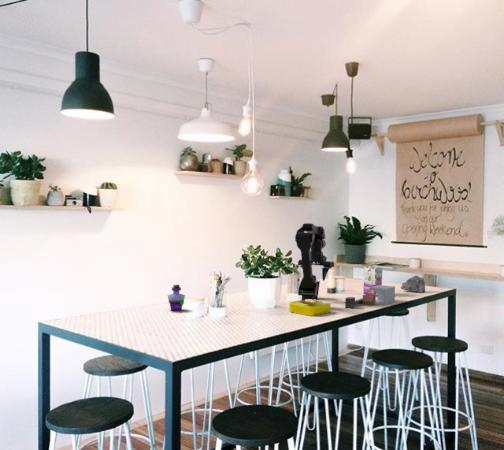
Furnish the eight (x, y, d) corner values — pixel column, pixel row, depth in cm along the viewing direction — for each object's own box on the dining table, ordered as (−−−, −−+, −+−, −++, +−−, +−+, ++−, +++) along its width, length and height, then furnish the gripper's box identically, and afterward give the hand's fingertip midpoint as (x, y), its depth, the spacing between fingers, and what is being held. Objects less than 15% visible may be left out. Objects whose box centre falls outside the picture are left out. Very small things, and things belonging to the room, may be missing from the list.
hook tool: (357, 309, 257) (357, 299, 257) (345, 308, 260) (345, 298, 260) (373, 303, 275) (373, 294, 274) (361, 302, 278) (361, 293, 278)
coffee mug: (320, 300, 282) (320, 281, 282) (304, 300, 283) (304, 281, 282) (318, 296, 294) (318, 279, 294) (302, 296, 294) (303, 278, 294)
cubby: (385, 304, 272) (385, 289, 272) (368, 302, 277) (369, 287, 277) (394, 301, 284) (394, 286, 283) (378, 299, 289) (378, 285, 288)
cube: (371, 306, 268) (372, 296, 268) (362, 305, 271) (362, 295, 271) (375, 304, 272) (375, 295, 272) (366, 303, 275) (366, 294, 275)
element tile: (287, 311, 248) (287, 301, 248) (307, 307, 259) (307, 298, 259) (312, 316, 238) (312, 306, 238) (332, 312, 248) (332, 302, 248)
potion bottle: (181, 312, 243) (182, 286, 242) (164, 311, 244) (164, 285, 244) (187, 308, 251) (188, 284, 251) (170, 308, 253) (170, 283, 252)
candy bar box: (382, 296, 300) (382, 267, 300) (375, 296, 298) (375, 268, 298) (369, 293, 310) (370, 265, 310) (363, 293, 308) (363, 266, 308)
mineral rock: (399, 291, 322) (400, 274, 322) (409, 289, 329) (410, 273, 328) (418, 294, 312) (418, 277, 312) (428, 292, 319) (428, 276, 318)
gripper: (339, 250, 275) (338, 279, 276) (307, 248, 286) (307, 277, 286) (329, 251, 266) (329, 282, 267) (297, 249, 277) (297, 278, 277)
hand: (315, 279), depth 274 cm, fingers open, 9 cm apart
